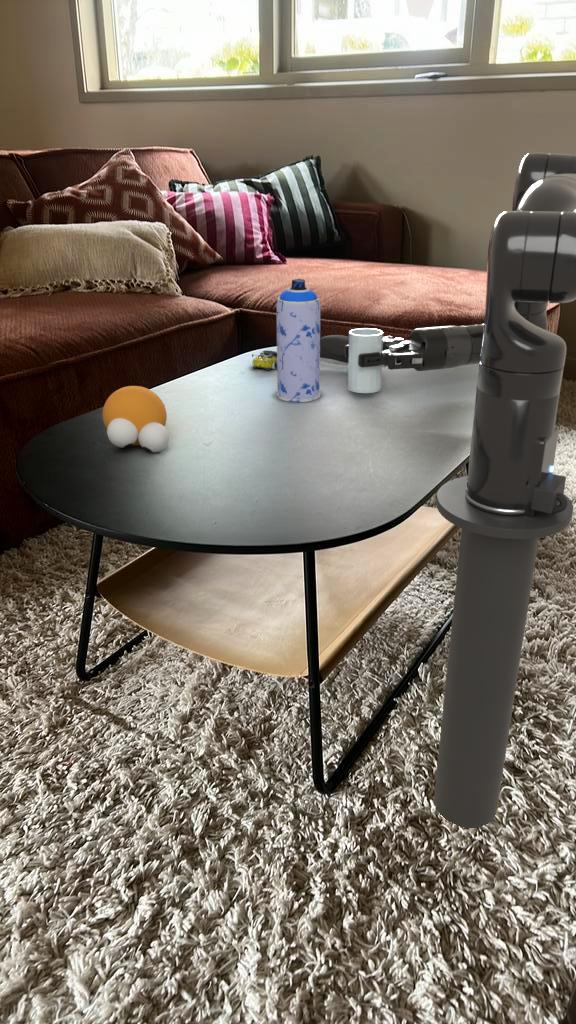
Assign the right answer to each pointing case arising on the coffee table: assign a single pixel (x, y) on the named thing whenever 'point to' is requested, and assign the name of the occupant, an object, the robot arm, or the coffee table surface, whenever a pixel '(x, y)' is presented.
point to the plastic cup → (357, 376)
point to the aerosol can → (298, 344)
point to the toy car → (265, 360)
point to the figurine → (334, 349)
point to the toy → (136, 419)
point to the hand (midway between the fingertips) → (352, 356)
